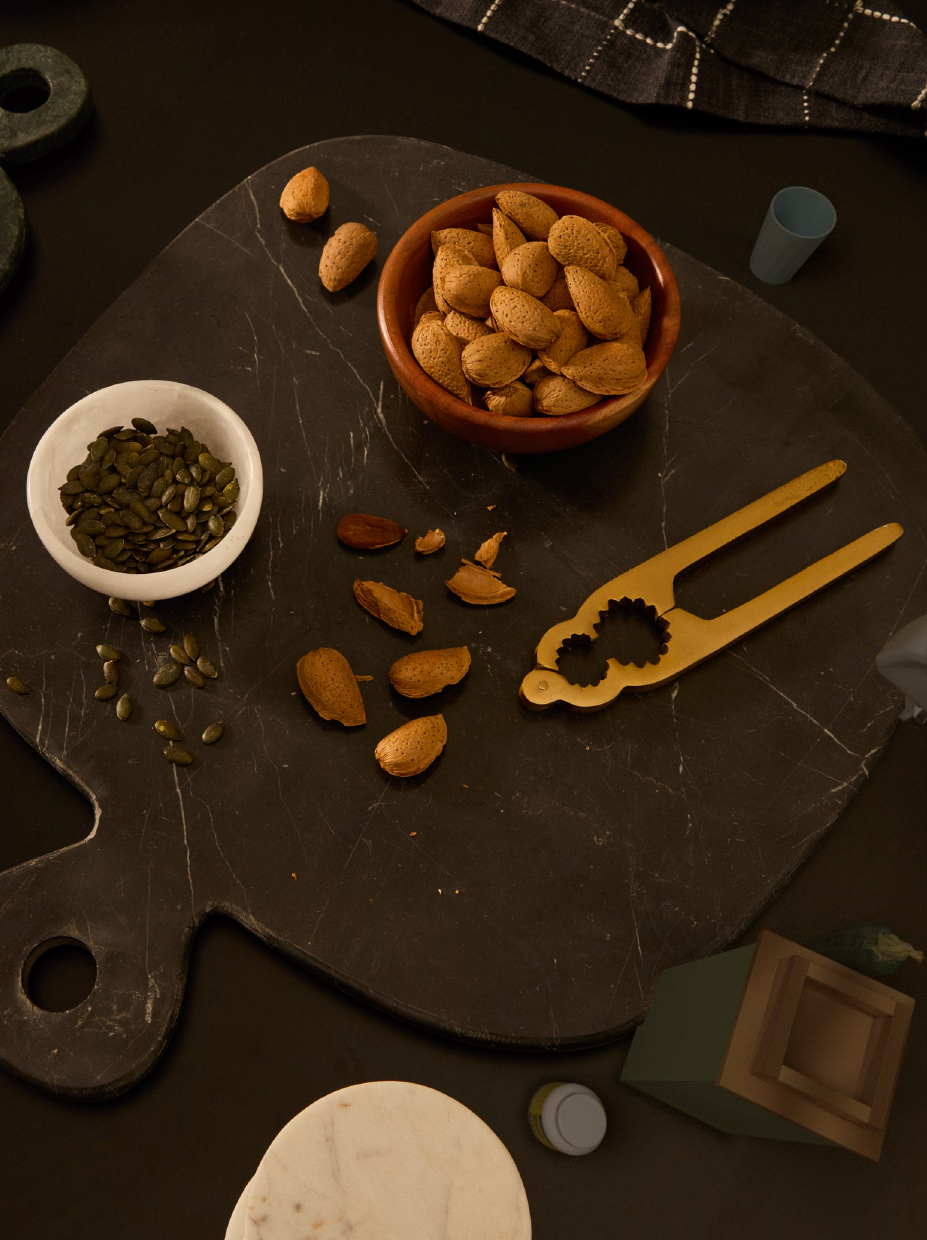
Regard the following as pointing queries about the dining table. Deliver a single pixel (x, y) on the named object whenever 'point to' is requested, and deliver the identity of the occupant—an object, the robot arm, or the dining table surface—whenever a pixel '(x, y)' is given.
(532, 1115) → the supplement bottle
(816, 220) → the cup
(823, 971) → the socket pad
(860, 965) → the vegetable
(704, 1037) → the stand
